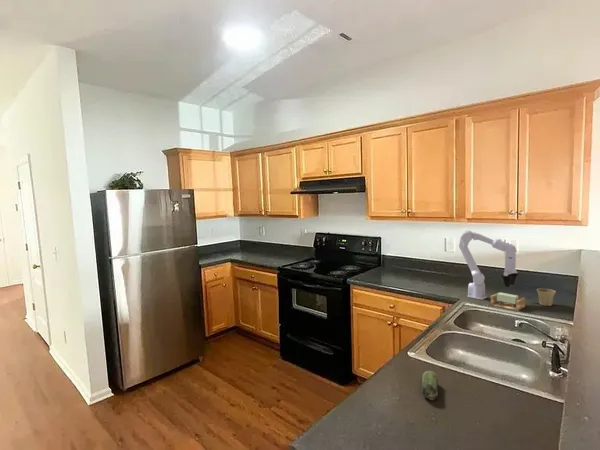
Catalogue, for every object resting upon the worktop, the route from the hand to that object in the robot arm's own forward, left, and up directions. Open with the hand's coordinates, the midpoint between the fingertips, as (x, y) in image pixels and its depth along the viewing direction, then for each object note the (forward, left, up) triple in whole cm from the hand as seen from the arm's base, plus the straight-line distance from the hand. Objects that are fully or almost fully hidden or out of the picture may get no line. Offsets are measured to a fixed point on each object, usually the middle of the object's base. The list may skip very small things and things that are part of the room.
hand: (509, 285), depth 212 cm
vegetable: (+21, -129, -10) cm, 131 cm away
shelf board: (+3, -12, -7) cm, 14 cm away
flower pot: (+17, +8, -10) cm, 21 cm away
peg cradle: (+3, -12, -10) cm, 16 cm away
